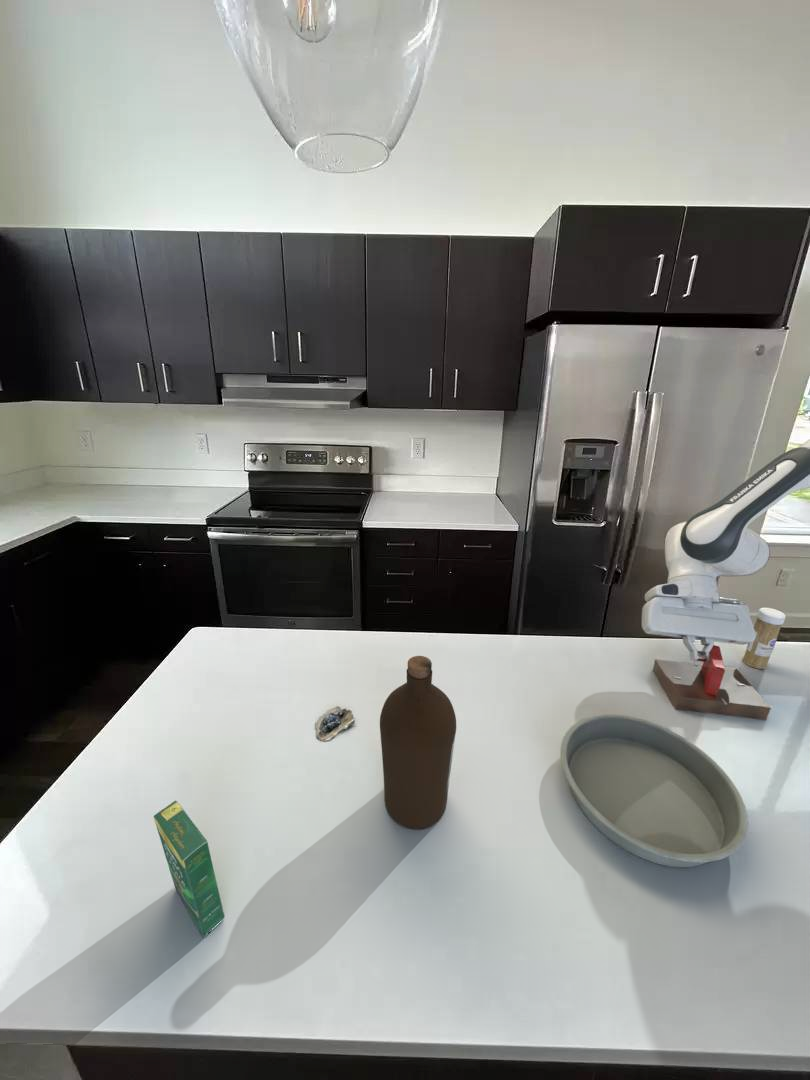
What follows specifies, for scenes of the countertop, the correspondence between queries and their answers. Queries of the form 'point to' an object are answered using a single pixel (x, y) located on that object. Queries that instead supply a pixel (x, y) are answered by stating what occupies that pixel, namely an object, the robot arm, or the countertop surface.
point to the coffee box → (190, 866)
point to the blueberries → (333, 722)
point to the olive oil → (417, 748)
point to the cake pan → (653, 791)
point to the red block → (713, 671)
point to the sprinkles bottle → (764, 637)
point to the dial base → (690, 695)
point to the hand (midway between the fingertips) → (700, 661)
